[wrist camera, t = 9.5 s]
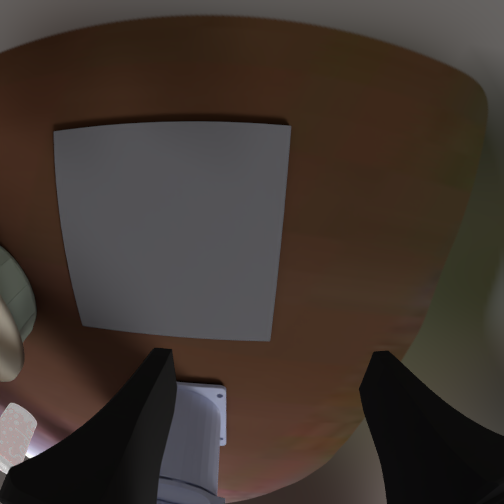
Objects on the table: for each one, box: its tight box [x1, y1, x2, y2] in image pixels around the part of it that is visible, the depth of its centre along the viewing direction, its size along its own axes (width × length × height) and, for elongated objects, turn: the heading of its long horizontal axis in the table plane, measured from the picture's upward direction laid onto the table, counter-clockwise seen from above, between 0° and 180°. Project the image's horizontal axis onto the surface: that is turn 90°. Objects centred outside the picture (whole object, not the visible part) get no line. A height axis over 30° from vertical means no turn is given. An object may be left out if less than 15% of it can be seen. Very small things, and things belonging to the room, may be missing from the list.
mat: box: [54, 121, 291, 341], centre depth 18 cm, size 14×14×1 cm
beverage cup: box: [0, 403, 37, 474], centre depth 21 cm, size 6×6×14 cm
